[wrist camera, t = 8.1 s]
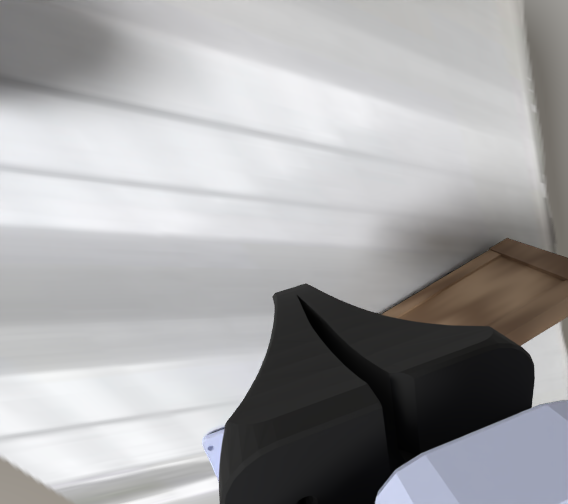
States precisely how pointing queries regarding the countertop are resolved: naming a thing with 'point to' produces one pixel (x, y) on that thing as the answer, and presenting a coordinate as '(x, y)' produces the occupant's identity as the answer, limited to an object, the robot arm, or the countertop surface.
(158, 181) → the countertop surface
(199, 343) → the countertop surface
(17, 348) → the countertop surface
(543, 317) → the gate
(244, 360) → the countertop surface
